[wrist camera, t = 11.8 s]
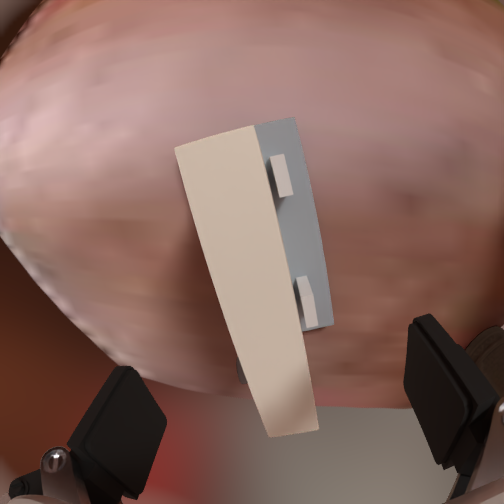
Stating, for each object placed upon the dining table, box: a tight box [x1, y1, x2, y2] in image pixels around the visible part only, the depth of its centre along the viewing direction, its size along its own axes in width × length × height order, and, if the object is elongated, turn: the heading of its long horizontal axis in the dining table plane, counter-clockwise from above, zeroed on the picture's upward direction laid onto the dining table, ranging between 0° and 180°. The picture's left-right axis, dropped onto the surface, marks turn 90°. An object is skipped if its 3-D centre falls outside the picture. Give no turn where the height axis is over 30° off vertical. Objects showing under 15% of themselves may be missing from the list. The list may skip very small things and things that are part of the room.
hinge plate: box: [254, 117, 334, 332], centre depth 24 cm, size 10×20×6 cm, turn 14°
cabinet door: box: [174, 125, 319, 437], centre depth 19 cm, size 4×16×14 cm, turn 14°
